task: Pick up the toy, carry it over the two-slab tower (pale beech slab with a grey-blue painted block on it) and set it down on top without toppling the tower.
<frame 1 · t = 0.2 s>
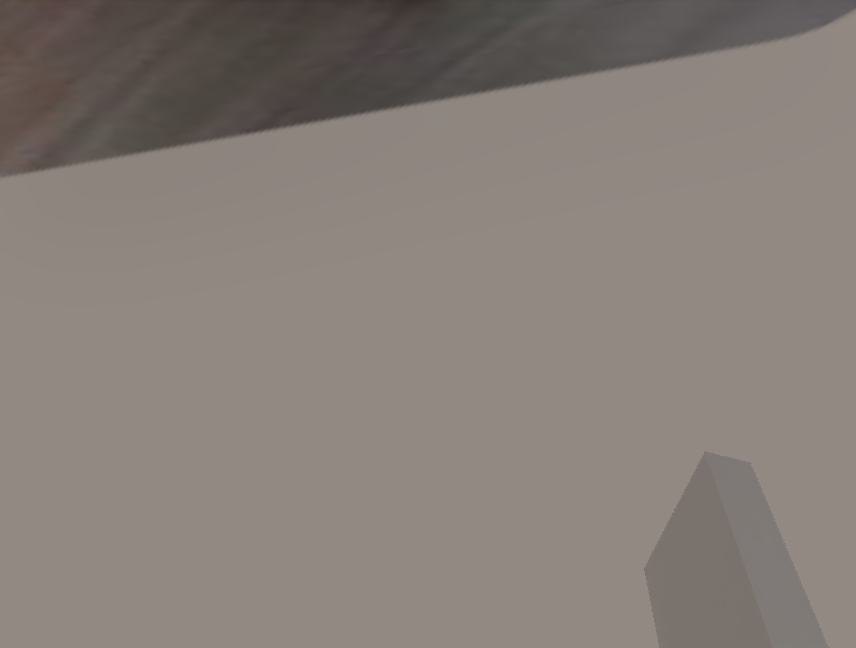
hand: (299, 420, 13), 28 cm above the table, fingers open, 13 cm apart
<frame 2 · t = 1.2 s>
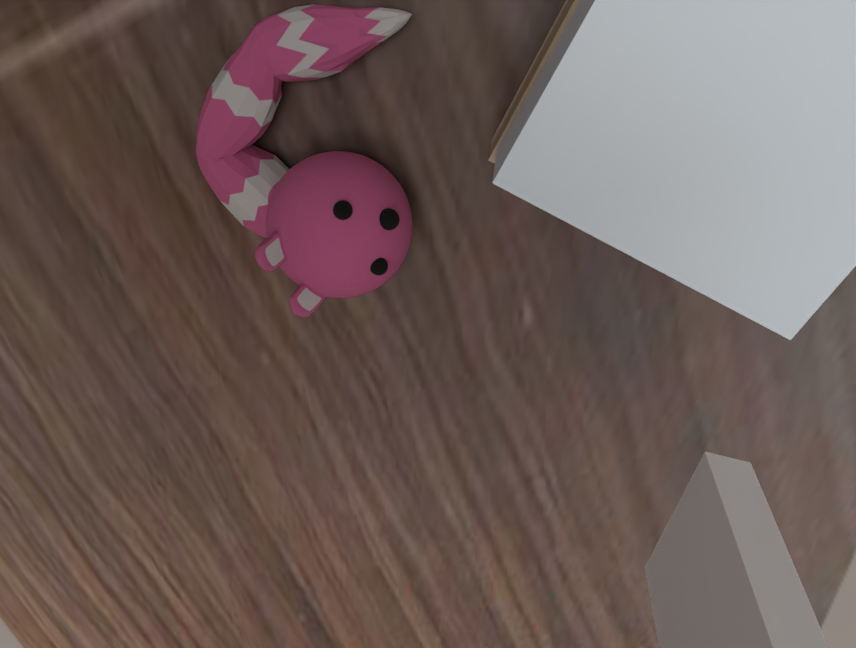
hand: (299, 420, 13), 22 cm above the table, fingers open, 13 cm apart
toy: (337, 143, 33), on the table
lower slab: (712, 66, 30), on the table, touching upper block
upper block: (726, 83, 27), point 4 cm above the table, touching lower slab
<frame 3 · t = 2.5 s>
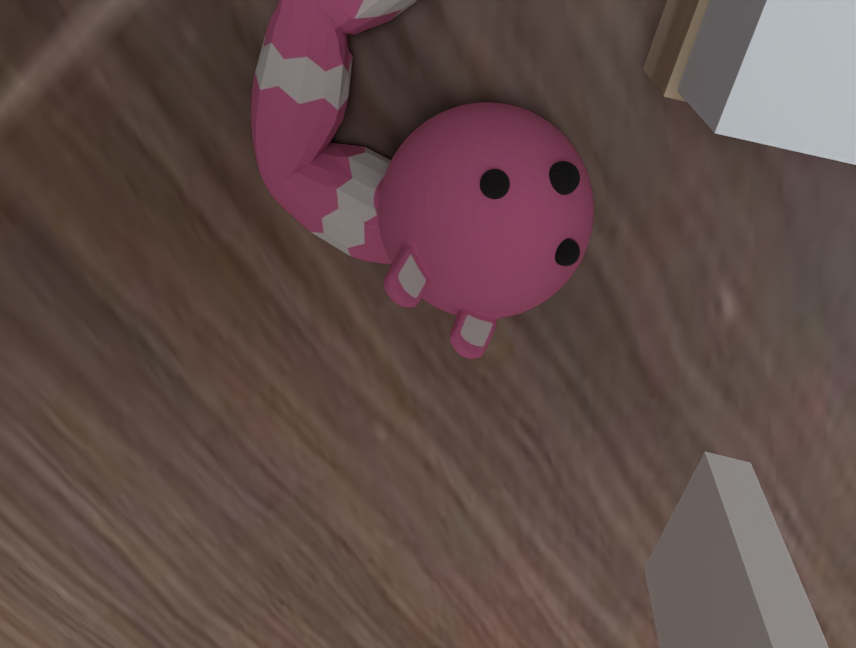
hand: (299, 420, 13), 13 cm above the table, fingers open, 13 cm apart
toy: (443, 103, 23), on the table
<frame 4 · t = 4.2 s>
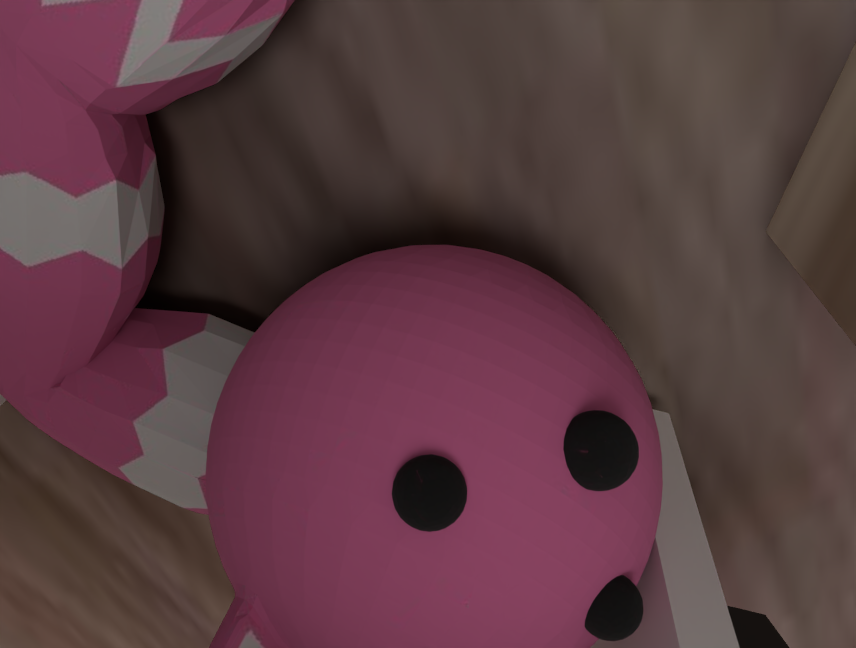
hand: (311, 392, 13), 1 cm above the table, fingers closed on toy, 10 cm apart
toy: (356, 224, 12), on the table, touching gripper
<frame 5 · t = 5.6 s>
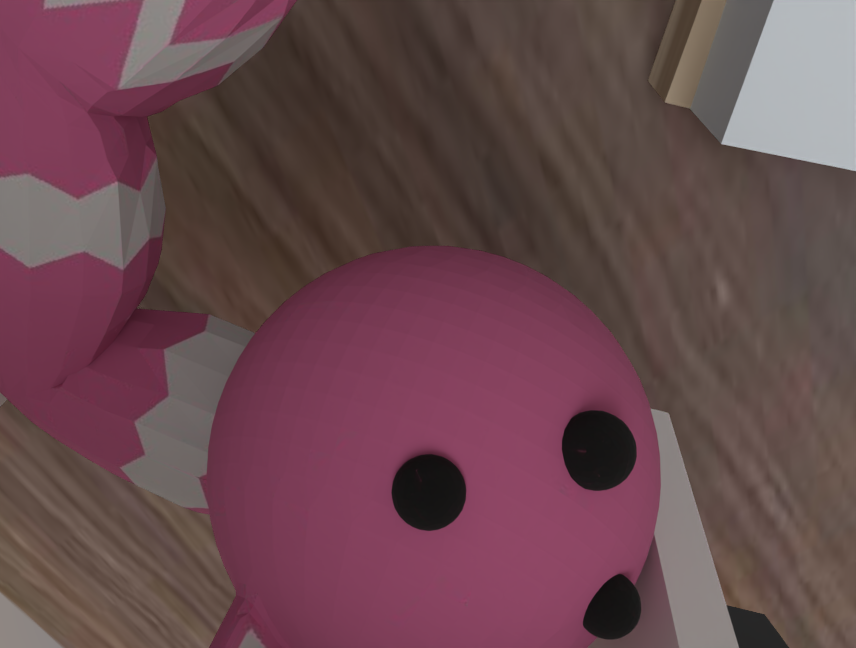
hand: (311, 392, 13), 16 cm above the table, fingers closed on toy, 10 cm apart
toy: (356, 225, 12), point 15 cm above the table, touching gripper
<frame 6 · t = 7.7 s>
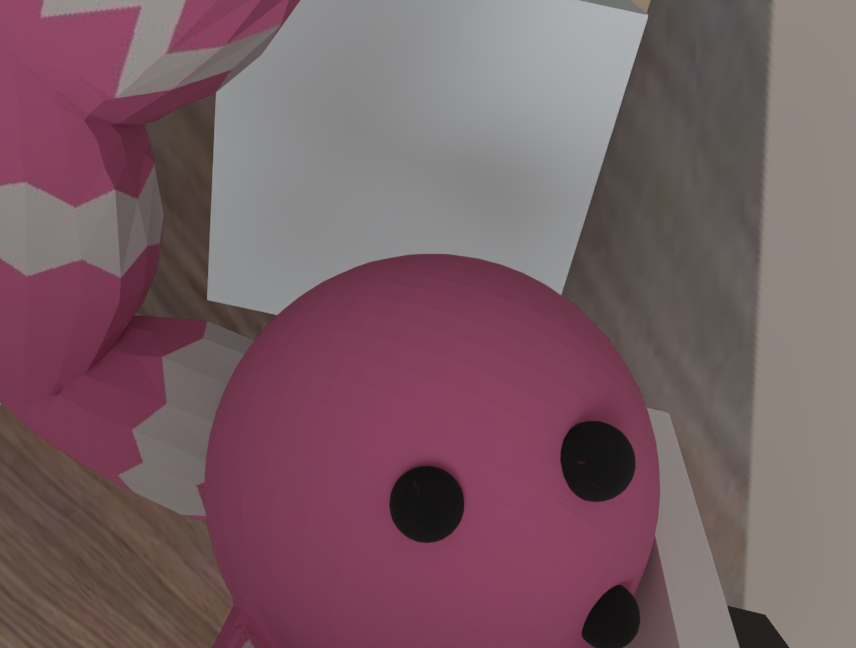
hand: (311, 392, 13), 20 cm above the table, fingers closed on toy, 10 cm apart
toy: (355, 232, 12), point 19 cm above the table, touching gripper
upper block: (415, 140, 27), point 3 cm above the table, touching lower slab
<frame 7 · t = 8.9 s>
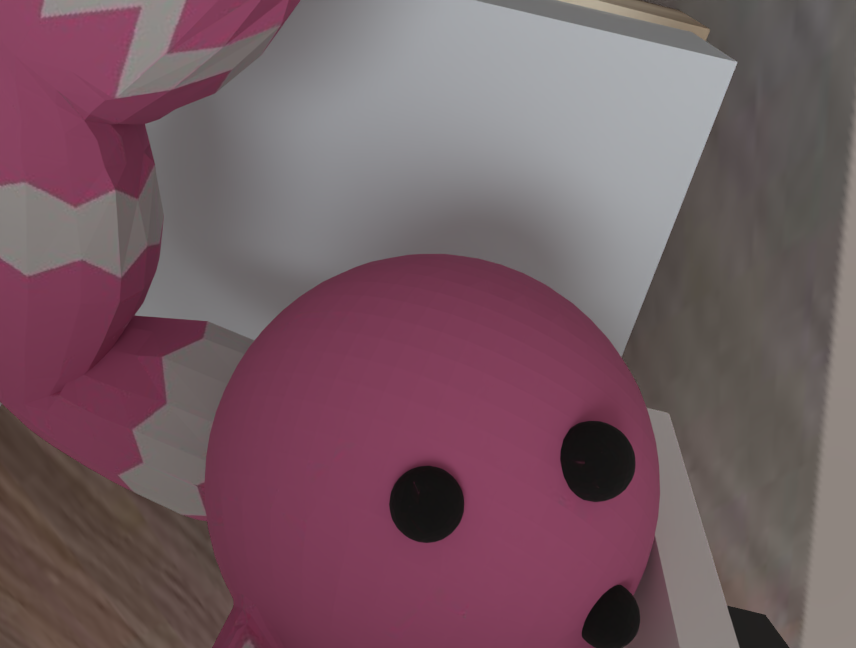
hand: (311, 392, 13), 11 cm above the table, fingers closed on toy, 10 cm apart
toy: (355, 232, 12), point 11 cm above the table, touching gripper
lower slab: (398, 174, 24), on the table, touching upper block
upper block: (388, 215, 20), point 3 cm above the table, touching lower slab
when the fingers open (10 cm above the table, at t = 9.9 s): toy drops 2 cm, resting on upper block.
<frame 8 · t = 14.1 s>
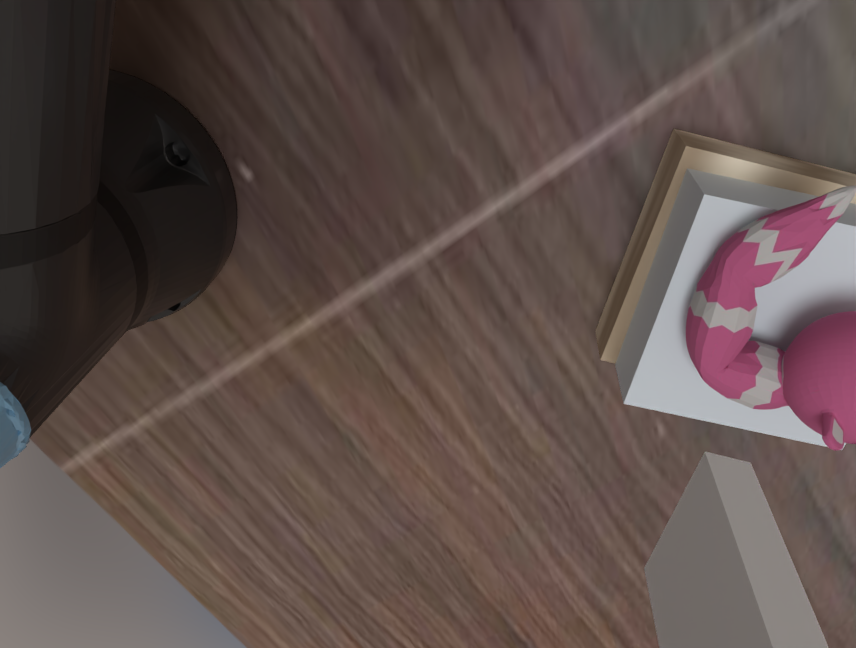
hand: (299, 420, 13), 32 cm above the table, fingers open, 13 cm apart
toy: (799, 304, 37), point 7 cm above the table, touching upper block
lower slab: (736, 260, 44), on the table, touching upper block
upper block: (756, 296, 41), point 3 cm above the table, touching lower slab, toy
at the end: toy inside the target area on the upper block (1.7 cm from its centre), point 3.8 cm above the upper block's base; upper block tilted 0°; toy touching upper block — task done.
